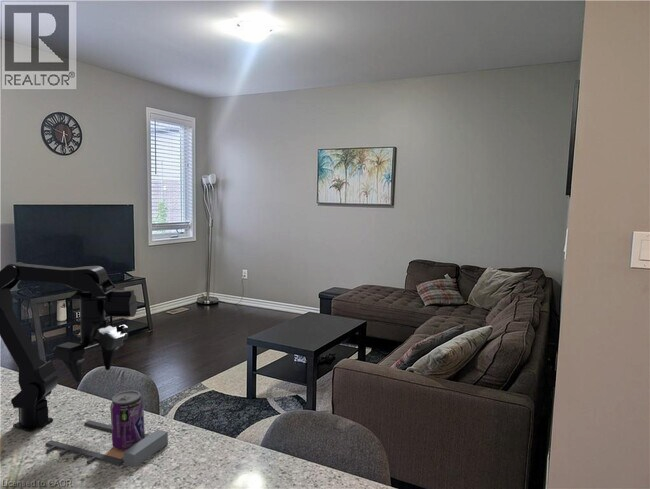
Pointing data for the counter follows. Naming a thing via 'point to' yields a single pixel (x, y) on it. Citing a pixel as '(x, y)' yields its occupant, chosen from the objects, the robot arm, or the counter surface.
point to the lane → (115, 456)
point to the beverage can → (127, 419)
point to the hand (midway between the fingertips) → (93, 375)
